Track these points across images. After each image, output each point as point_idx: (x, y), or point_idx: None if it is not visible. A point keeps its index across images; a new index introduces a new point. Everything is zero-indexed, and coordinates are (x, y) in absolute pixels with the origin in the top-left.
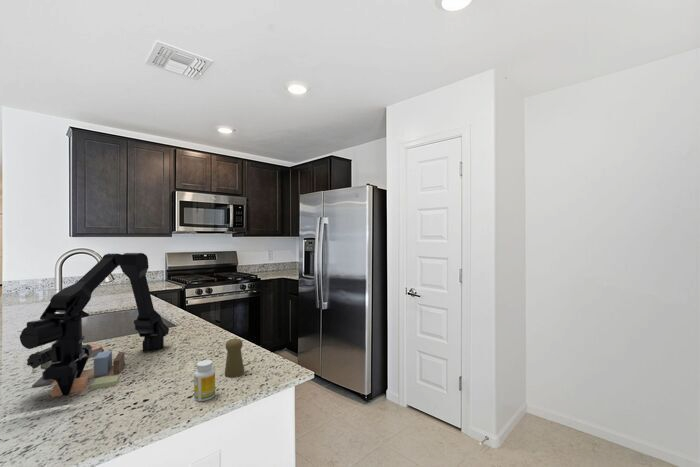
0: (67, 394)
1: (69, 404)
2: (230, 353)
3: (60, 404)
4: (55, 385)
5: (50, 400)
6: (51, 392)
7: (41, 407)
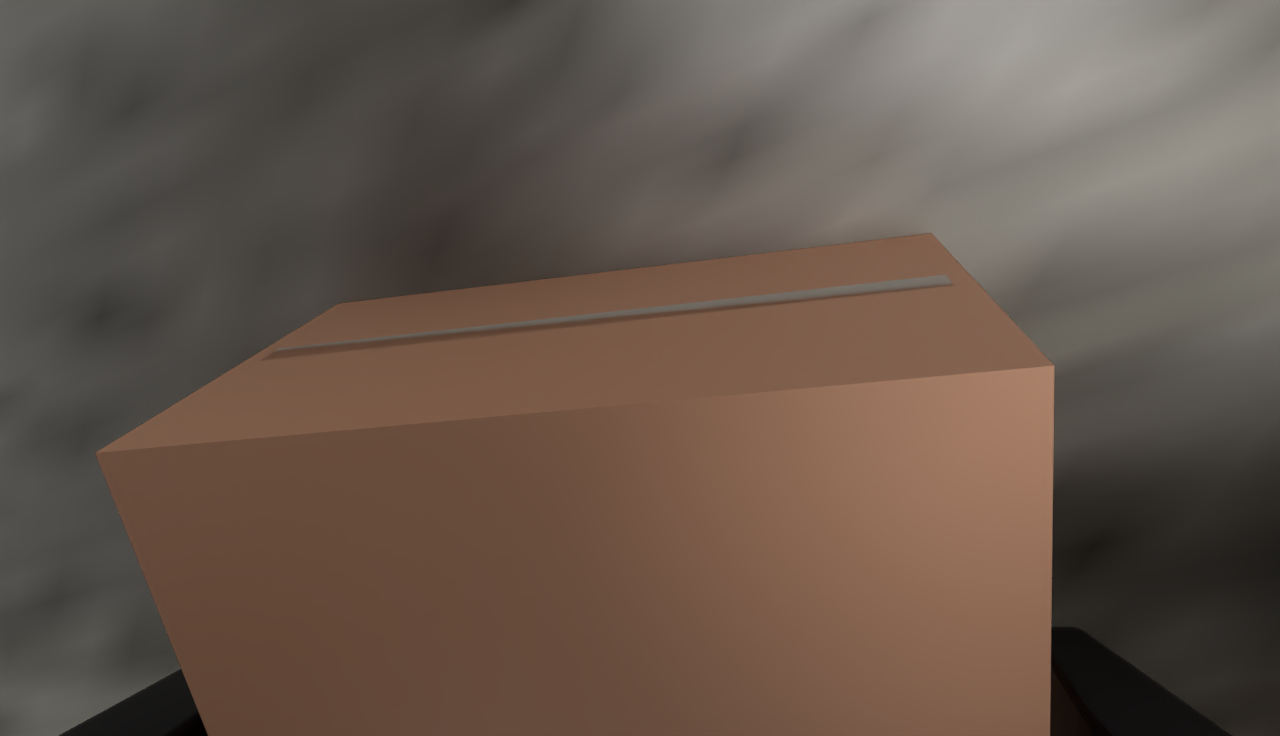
0: None
1: (105, 706)
2: None
3: None
4: (529, 453)
5: (417, 245)
6: (166, 409)
7: (51, 190)
